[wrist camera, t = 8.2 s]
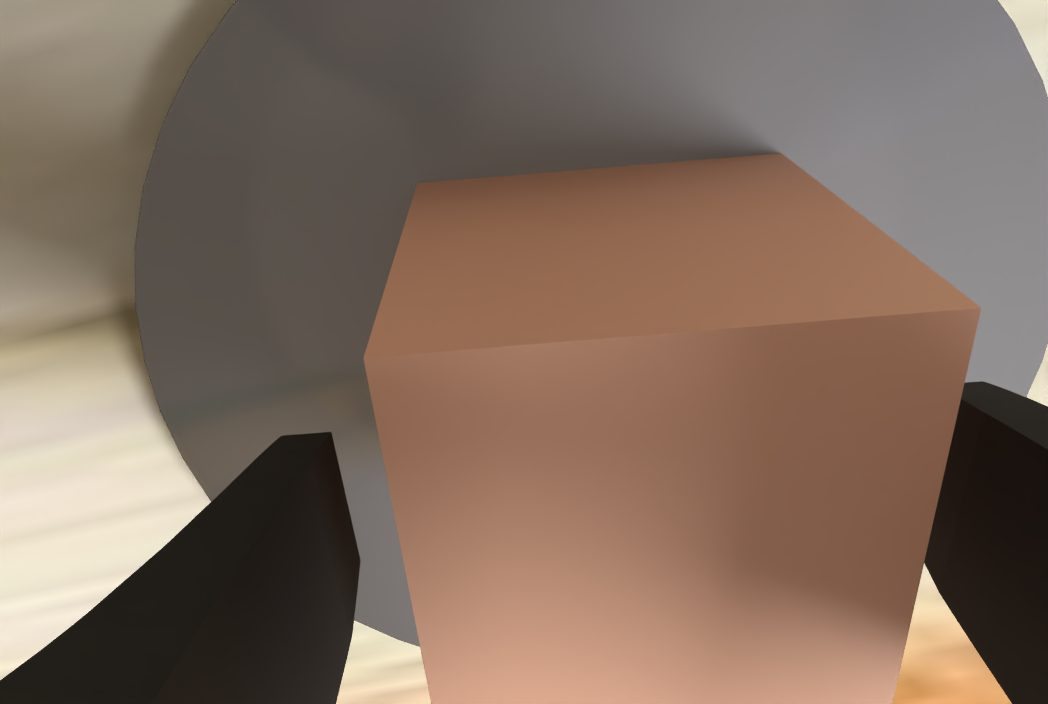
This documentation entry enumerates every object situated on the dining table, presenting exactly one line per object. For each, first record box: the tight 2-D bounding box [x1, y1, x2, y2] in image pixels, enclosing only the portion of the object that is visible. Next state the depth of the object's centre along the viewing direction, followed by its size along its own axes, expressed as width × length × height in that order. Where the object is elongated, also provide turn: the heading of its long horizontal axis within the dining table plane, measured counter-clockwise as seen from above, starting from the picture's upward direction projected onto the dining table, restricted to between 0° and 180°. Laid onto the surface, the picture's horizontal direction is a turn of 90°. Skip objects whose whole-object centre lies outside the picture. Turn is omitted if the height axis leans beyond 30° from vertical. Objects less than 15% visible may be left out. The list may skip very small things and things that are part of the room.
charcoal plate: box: [135, 0, 1048, 647], centre depth 12 cm, size 14×14×1 cm
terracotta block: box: [363, 153, 981, 704], centre depth 10 cm, size 5×5×5 cm
